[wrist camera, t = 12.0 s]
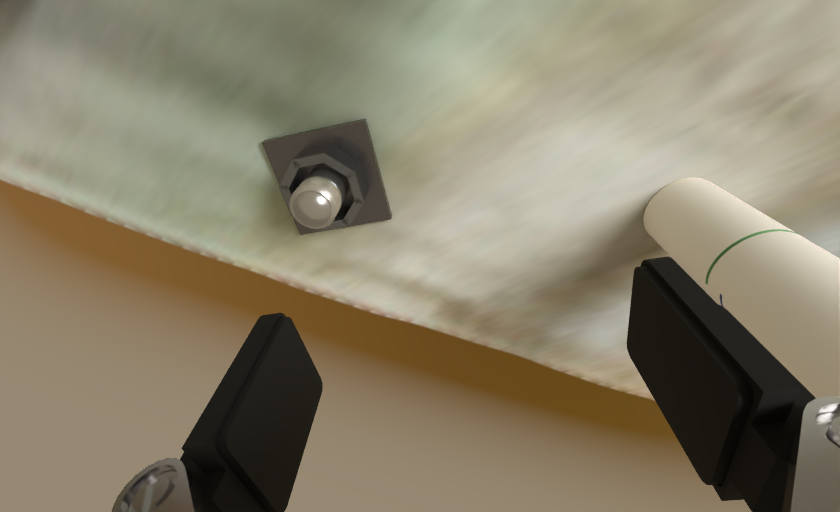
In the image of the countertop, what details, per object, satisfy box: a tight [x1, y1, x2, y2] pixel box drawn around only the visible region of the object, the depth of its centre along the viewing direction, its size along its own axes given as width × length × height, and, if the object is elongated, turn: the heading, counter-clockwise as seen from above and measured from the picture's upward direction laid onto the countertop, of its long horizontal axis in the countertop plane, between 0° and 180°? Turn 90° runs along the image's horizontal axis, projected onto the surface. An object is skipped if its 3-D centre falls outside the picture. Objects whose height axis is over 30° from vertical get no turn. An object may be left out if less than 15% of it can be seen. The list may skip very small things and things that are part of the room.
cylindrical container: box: [643, 178, 840, 398], centre depth 28 cm, size 7×7×25 cm
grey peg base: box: [262, 119, 392, 235], centre depth 35 cm, size 10×10×7 cm
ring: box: [279, 144, 369, 231], centre depth 36 cm, size 7×7×3 cm
